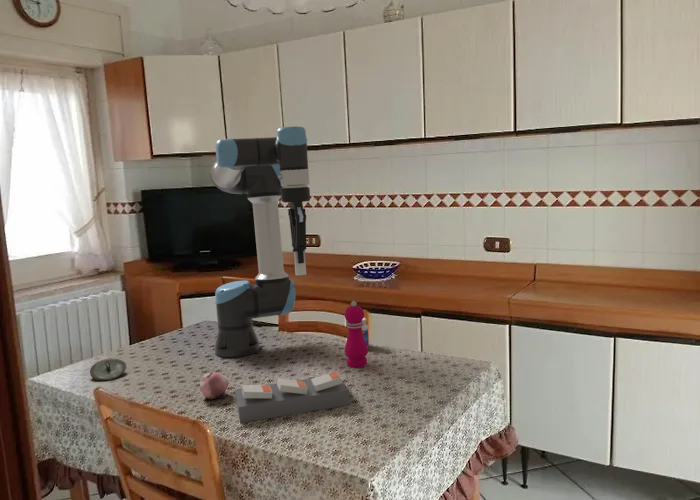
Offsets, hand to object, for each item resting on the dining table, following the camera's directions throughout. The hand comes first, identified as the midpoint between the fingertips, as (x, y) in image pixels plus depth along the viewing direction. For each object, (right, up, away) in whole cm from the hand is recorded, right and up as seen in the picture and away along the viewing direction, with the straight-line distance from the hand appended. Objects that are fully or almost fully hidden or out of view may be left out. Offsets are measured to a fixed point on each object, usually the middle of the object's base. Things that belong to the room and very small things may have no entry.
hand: (300, 274), depth 157 cm
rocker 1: (-10, -29, -10) cm, 32 cm away
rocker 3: (+7, -27, -5) cm, 29 cm away
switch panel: (-2, -34, -5) cm, 34 cm away
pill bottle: (+17, -26, +40) cm, 50 cm away
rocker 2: (-2, -28, -8) cm, 29 cm away
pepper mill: (+15, -29, +23) cm, 40 cm away
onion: (-24, -34, +3) cm, 41 cm away
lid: (-62, -33, +25) cm, 74 cm away
